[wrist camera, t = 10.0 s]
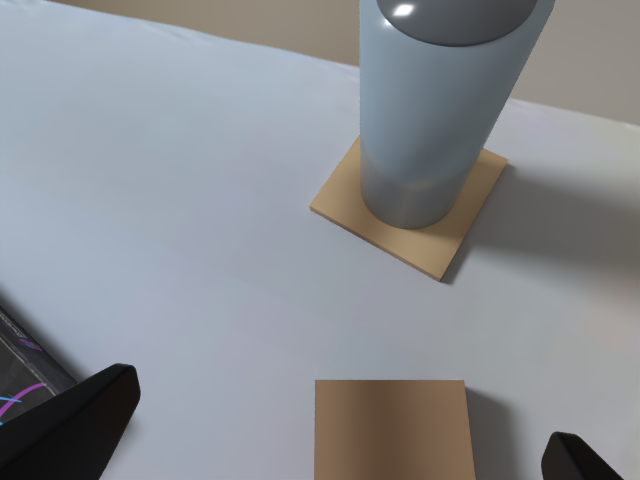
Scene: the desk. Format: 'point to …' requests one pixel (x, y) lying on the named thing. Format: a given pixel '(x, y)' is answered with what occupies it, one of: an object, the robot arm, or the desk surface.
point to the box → (25, 371)
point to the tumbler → (434, 96)
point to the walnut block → (392, 430)
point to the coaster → (407, 244)
